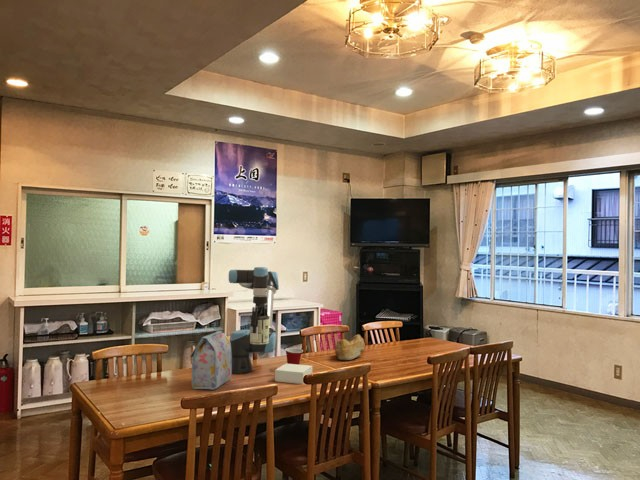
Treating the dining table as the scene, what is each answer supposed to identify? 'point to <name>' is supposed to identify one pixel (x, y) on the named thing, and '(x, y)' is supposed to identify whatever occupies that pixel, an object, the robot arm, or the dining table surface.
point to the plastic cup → (293, 355)
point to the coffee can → (261, 331)
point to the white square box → (292, 373)
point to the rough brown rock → (349, 348)
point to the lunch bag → (211, 361)
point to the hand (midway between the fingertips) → (259, 337)
